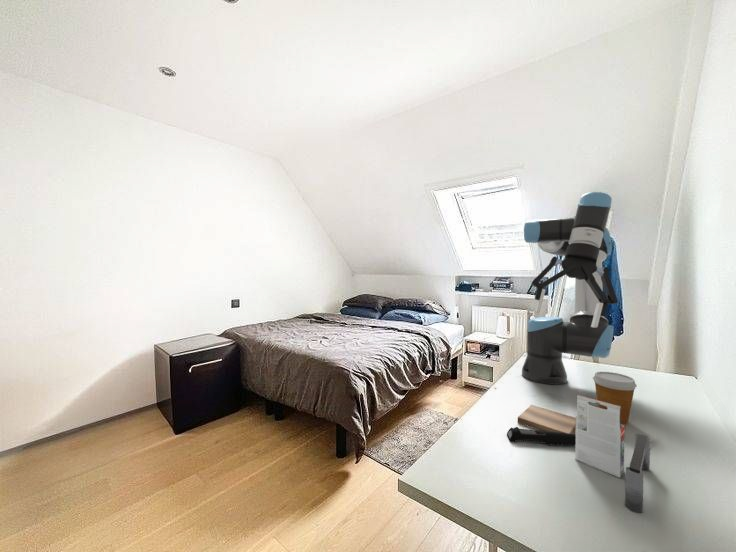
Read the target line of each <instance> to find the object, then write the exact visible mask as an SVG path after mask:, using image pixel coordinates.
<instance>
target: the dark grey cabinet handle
mask: <svg viewBox="0 0 736 552" xmlns="http://www.w3.org/2000/svg"><path fill="white" fill-rule="evenodd" d="M650 460H651V437H649V436H648V435H646V434H644V433H635V435H634V449H633V452H632V456H631V460H630V464H629V466H627V467H625V475H624V476H625V481H624V482H625V483H624V485H625V486H624V493H625V494H624V506H625V507H626V508H627V510H629V511H631V512H633V513H636V514H642V513H644V479H645V478H644V476H645V474H644V473H643V471H645V472H647V471H650V469H651V467H650V466H651V461H650Z"/></svg>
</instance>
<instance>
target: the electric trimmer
mask: <svg viewBox="0 0 736 552" xmlns="http://www.w3.org/2000/svg"><path fill="white" fill-rule="evenodd" d="M506 437H507V439H508V441H509V442H512V443H516V442H517V441H518V442H528V443H529V442H530V443H541V444H546V445H547V446H576V433H573V434H568V433H559V432H550V431H541V430H538V429H526V428H520V427H518V426H516V427H510V428H509V429H508V430H507V432H506Z"/></svg>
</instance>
